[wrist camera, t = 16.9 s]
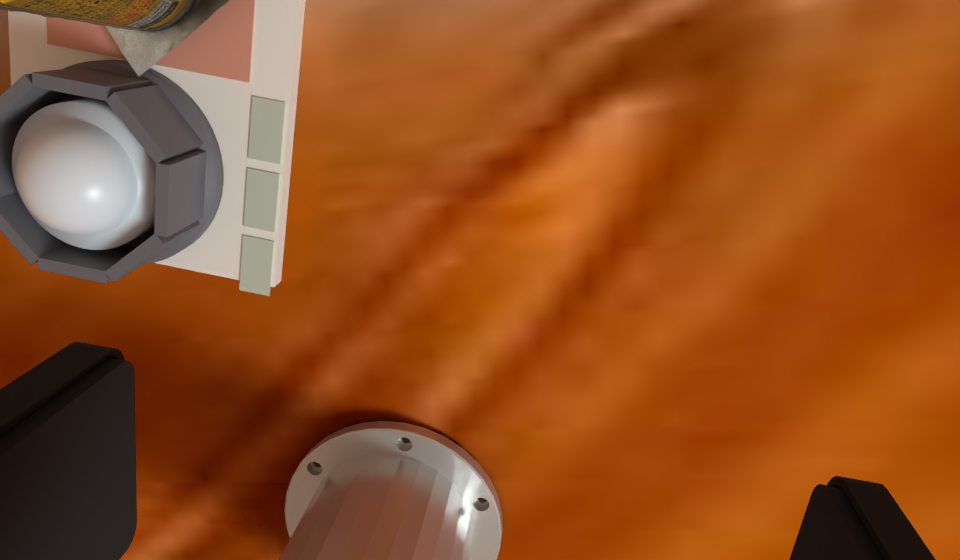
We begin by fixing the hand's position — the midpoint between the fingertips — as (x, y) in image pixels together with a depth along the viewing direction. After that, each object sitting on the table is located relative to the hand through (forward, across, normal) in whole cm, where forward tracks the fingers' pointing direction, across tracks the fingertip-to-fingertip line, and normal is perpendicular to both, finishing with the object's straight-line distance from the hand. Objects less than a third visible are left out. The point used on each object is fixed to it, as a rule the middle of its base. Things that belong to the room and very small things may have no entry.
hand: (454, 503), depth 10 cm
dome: (+26, +20, +3) cm, 33 cm away
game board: (+28, +19, -2) cm, 34 cm away
